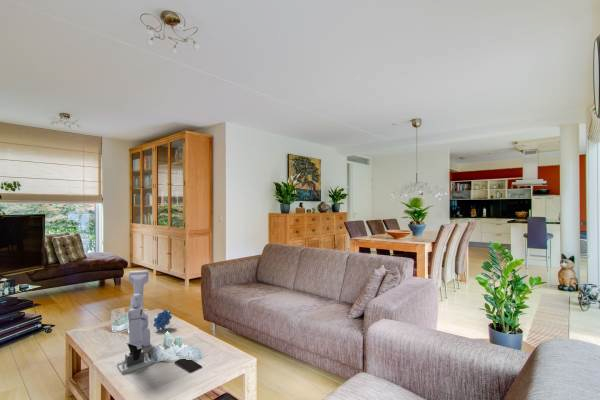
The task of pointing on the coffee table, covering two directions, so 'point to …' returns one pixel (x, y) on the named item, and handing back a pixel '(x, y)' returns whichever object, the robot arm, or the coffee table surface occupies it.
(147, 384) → the coffee table surface
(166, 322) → the grapes
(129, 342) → the robot arm
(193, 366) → the smartphone
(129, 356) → the drive
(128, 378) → the coffee table surface
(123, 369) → the tray
